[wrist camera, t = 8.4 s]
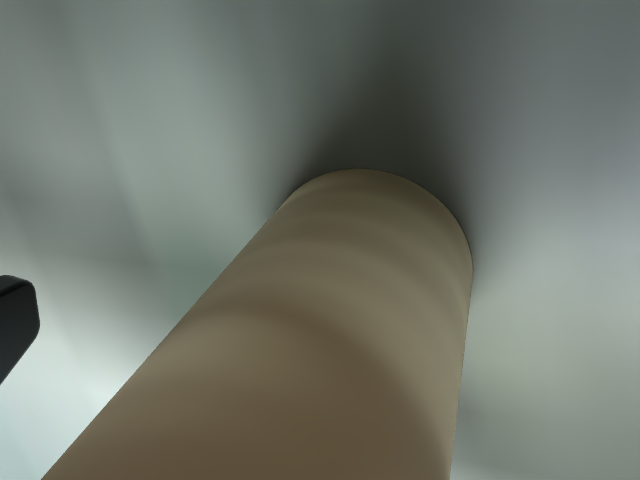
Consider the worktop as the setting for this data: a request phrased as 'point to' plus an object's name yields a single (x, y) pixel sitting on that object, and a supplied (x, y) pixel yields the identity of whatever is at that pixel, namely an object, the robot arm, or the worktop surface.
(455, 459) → the worktop surface
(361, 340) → the wooden dowel
